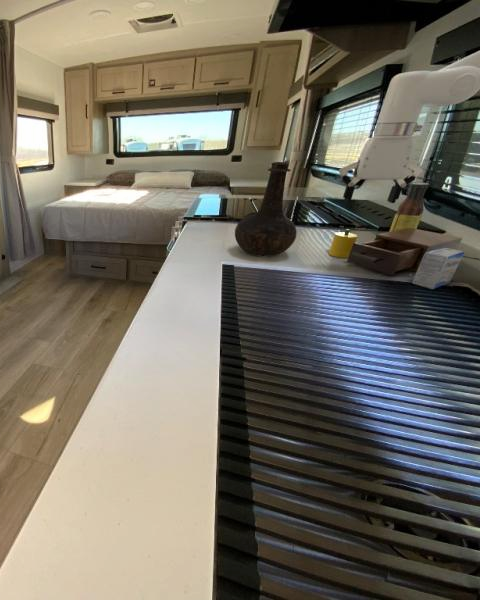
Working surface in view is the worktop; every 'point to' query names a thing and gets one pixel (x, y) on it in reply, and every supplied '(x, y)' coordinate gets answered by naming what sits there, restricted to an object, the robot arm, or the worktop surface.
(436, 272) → the medicine box
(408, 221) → the sauce bottle
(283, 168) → the glass bottle
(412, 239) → the cabinet
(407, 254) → the drawer
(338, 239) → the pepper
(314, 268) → the worktop surface
